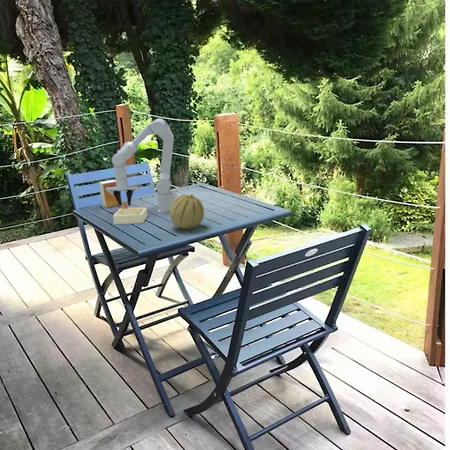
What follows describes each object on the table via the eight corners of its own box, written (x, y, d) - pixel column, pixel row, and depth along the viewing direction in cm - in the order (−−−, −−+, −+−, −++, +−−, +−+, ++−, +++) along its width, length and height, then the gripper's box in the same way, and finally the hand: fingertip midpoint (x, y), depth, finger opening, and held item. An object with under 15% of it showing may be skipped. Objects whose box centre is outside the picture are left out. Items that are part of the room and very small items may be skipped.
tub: (147, 217, 219) (146, 207, 218) (142, 224, 209) (141, 214, 208) (121, 218, 220) (119, 209, 219) (114, 225, 210) (113, 215, 209)
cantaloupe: (169, 225, 205) (165, 192, 200) (201, 221, 208) (199, 188, 203) (173, 235, 191) (169, 200, 186) (208, 231, 194) (205, 196, 189)
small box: (106, 208, 240) (102, 183, 236) (102, 206, 245) (98, 181, 241) (121, 205, 244) (117, 181, 240) (116, 203, 249) (113, 179, 245)
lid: (146, 209, 234) (145, 199, 232) (141, 216, 223) (139, 205, 221) (120, 210, 235) (118, 200, 233) (113, 217, 224) (112, 206, 222)
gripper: (104, 180, 220) (108, 208, 225) (134, 179, 219) (137, 207, 223) (108, 177, 227) (112, 204, 231) (137, 176, 226) (140, 203, 230)
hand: (125, 205), depth 228 cm, fingers open, 4 cm apart
